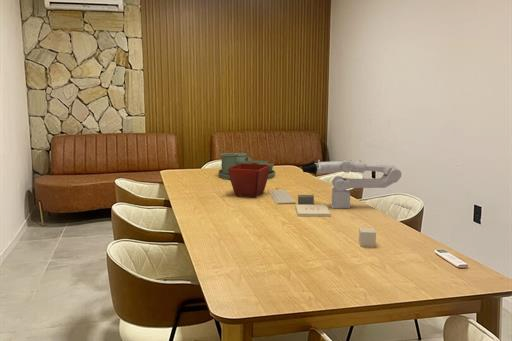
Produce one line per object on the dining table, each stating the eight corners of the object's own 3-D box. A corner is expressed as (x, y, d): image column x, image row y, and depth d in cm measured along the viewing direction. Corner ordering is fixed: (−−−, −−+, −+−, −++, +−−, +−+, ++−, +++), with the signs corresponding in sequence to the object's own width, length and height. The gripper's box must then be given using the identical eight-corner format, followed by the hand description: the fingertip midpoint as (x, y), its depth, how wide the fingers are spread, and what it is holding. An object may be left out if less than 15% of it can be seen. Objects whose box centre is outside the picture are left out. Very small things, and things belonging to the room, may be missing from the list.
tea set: (255, 184, 318) (255, 159, 315) (206, 177, 339) (206, 154, 336) (285, 174, 351) (285, 152, 348) (239, 169, 372) (239, 147, 369)
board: (325, 207, 258) (325, 204, 258) (330, 216, 240) (330, 213, 240) (295, 207, 258) (295, 204, 258) (298, 216, 240) (298, 213, 240)
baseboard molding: (273, 205, 264) (295, 205, 265) (273, 200, 263) (295, 200, 265) (266, 192, 294) (286, 192, 296) (266, 188, 294) (286, 187, 295)
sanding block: (312, 203, 266) (312, 194, 265) (313, 206, 261) (313, 196, 260) (297, 203, 266) (298, 194, 265) (298, 206, 261) (298, 196, 260)
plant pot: (227, 196, 282) (227, 167, 279) (240, 190, 299) (240, 162, 296) (258, 199, 274) (258, 170, 271) (270, 192, 292) (270, 164, 289)
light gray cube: (358, 241, 203) (359, 227, 202) (373, 242, 202) (374, 228, 201) (360, 246, 197) (360, 232, 196) (375, 247, 196) (376, 232, 195)
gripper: (326, 157, 262) (300, 158, 263) (329, 162, 248) (302, 163, 249) (326, 170, 264) (301, 171, 264) (329, 175, 250) (303, 176, 250)
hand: (302, 168), depth 257 cm, fingers open, 7 cm apart
